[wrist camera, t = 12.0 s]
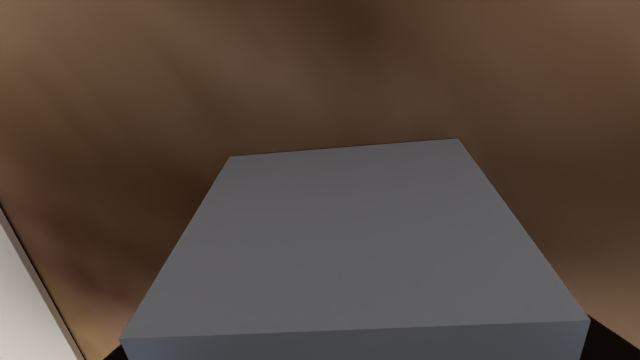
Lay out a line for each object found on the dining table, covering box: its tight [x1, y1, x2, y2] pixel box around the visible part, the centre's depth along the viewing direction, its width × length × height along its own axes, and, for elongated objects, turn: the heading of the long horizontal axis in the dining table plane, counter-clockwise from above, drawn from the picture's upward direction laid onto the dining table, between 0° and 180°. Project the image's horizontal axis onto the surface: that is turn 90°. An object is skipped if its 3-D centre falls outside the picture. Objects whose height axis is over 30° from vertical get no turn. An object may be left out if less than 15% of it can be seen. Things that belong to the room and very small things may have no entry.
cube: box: [119, 138, 591, 360], centre depth 8 cm, size 5×5×5 cm
